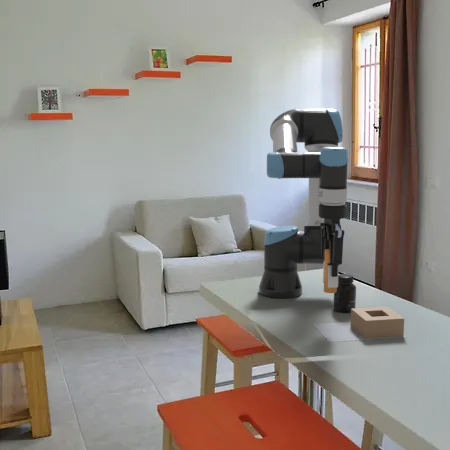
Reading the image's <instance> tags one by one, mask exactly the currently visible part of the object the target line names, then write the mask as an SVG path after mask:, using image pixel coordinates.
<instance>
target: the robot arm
mask: <svg viewBox="0 0 450 450" xmlns="http://www.w3.org/2000/svg"><path fill="white" fill-rule="evenodd" d="M343 130H344V129H343V123H342V117H341V114H340V112H339V110H337V109H335V108H326V107H325V108H295V109H289V110H286V111H284V112H283V113H281V114H279V115H277V117H276V118H275V119H274V120H272V122H271V125H270V128H269V137H270V138H271V141H272V152H268V153H267V155H266V175H267V177H268V178H269V179H278V180H279V179H308V220H307V222H306V223H305V224H303V230H299V227H298V226H297V225H282V226H275V227H272V228H269V229H268V230H266V231H265V233H264V240H263V241H264V242H263V245H264V249H263V251H264V253H263V256H264V258H263V259H264V261H263V263H264V265H263V266H264V267H263V273H262V276H261V280H260V283H259V285H258V293H259V294H260V295H261V296H264V297H268V298H274V299H289V298H296V297H299V296H300V295H302V294H303V285H302V282H301V279H300V276H299V272H298V265H323V266H322V267H323V272H322V274H323V275H322V276H323V277H322V283H323V284H324V261H325V249H329V253H330V263H327V265H328V288H334V287H338V275H339V267H340V265H342V263H343V249H344V238H345V237H344V236H345V230H344V229H342V226H341V220H342V219H345V218H347V217H346V216H347V205H346V203H347V201H348V186H347V185H348V184H347V183H348V163H349V153H348V148H346V147H342V146H339V144H340V143H342V142H343V137H344V136H343ZM297 143H301V144H302V143H303V144H304V149H305V150H306V151H305V152H300V151H299V152H298V144H297Z"/></svg>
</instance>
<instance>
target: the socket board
mask: <svg viewBox="0 0 450 450" xmlns="http://www.w3.org/2000/svg"><path fill="white" fill-rule="evenodd" d="M312 326H314V327H315V329H316V330H317V331H318V332H319V333H320V334H321V335H322V336H323V337H324V338H325V339H326V340H327V342H328V343H338V342H354V341H355V342H356V341H372V340H373V341H374V340H389V339H403V338H407V336H406V335H405V333H404V332H405V318H404V317H403V316H401V315H400V314H398V313H397V312H396V311H394V310H393V309H392V308H390V307H388V306H375V307H374V306H373V307H357V308H356V307H355V308H353V309H351V313H350V321H343V322H342V321H341V322H323V323H312Z"/></svg>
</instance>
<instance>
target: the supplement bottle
mask: <svg viewBox="0 0 450 450" xmlns="http://www.w3.org/2000/svg"><path fill="white" fill-rule="evenodd" d="M356 303H357V286H356V285H355V284H354V275H353V274H347V273H341V274H338V287H337V292H336V293H333V305H332V306H333V311H334V312H336V313H340V314H351V309H353V308H356V307H357V306H356Z"/></svg>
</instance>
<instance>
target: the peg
mask: <svg viewBox="0 0 450 450" xmlns="http://www.w3.org/2000/svg"><path fill="white" fill-rule="evenodd" d="M327 263H330V253H329V249H325V261H324V283H323V292H324V293H327V294H334V293H336V292H337V287H334V288H328V265H327Z"/></svg>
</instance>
